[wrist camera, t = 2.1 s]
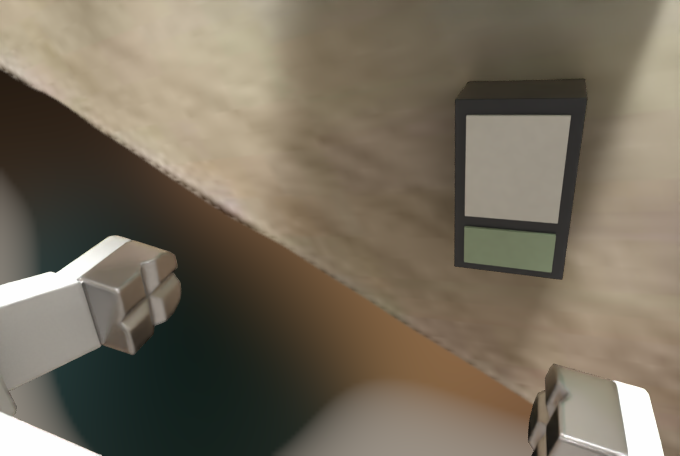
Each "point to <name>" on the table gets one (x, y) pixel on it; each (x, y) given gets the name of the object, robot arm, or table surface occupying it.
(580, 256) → the table surface
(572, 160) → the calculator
